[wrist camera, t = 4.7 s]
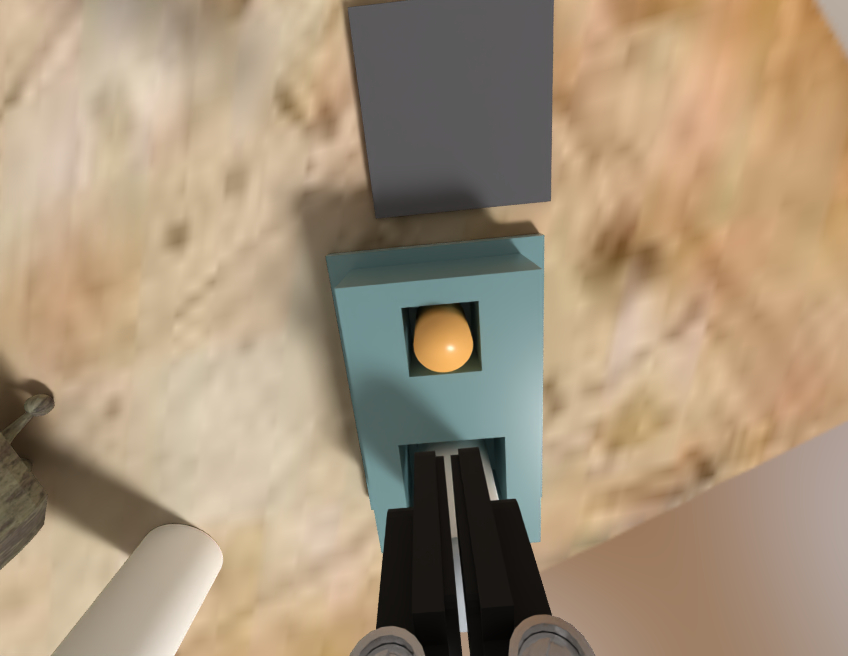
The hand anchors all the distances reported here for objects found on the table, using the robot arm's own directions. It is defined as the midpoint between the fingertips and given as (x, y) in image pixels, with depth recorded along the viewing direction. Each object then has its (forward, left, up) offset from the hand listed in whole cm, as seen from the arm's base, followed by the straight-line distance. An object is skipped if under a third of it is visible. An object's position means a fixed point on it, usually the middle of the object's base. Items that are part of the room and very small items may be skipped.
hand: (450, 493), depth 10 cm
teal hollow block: (+7, 0, -18) cm, 19 cm away
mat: (-11, +2, -18) cm, 22 cm away
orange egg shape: (+1, 0, -16) cm, 16 cm away
